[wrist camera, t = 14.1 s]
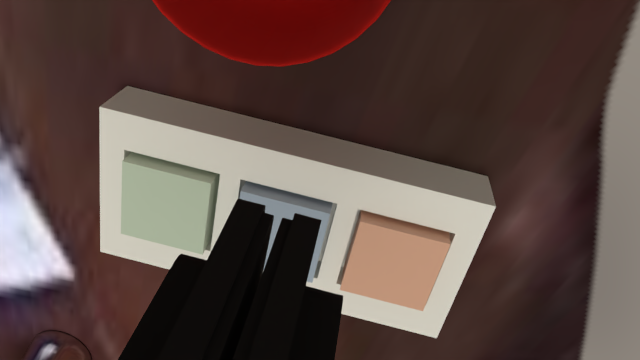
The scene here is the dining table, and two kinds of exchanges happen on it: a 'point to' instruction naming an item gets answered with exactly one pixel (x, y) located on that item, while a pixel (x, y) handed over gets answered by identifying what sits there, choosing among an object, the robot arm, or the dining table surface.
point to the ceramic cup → (272, 26)
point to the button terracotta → (394, 260)
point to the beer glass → (56, 347)
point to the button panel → (295, 190)
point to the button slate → (289, 212)
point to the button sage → (168, 202)
